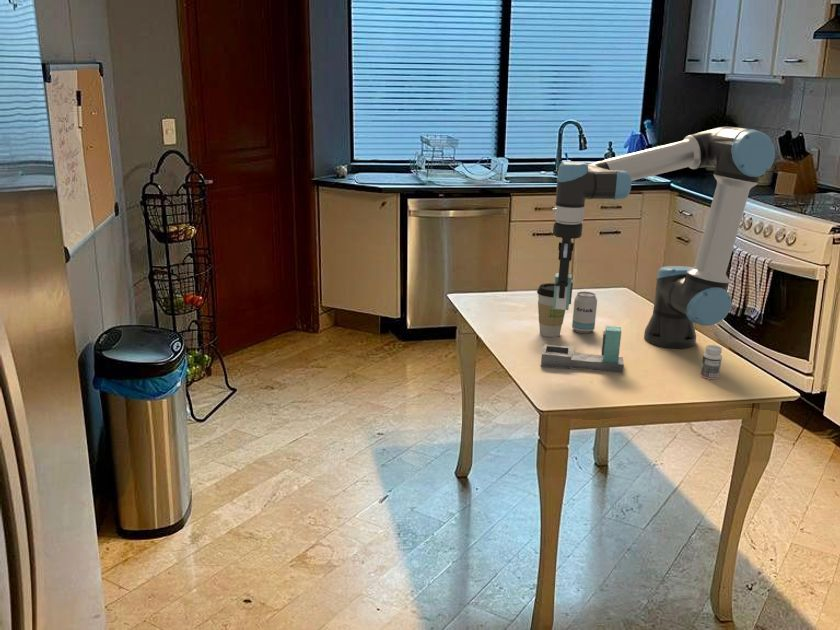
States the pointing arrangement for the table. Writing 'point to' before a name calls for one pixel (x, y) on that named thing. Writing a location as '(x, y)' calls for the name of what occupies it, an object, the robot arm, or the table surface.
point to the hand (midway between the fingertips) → (560, 306)
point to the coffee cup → (549, 312)
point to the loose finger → (569, 291)
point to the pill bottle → (711, 362)
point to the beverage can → (584, 312)
